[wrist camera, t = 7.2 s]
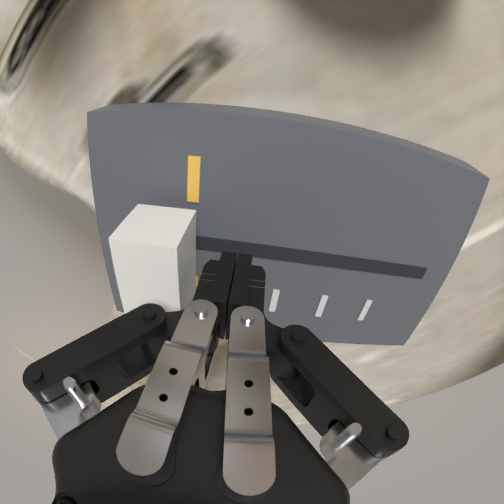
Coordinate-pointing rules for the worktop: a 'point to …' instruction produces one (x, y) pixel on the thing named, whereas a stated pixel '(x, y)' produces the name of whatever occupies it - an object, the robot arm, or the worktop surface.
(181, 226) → the fader knob
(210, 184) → the panel
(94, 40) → the worktop surface
